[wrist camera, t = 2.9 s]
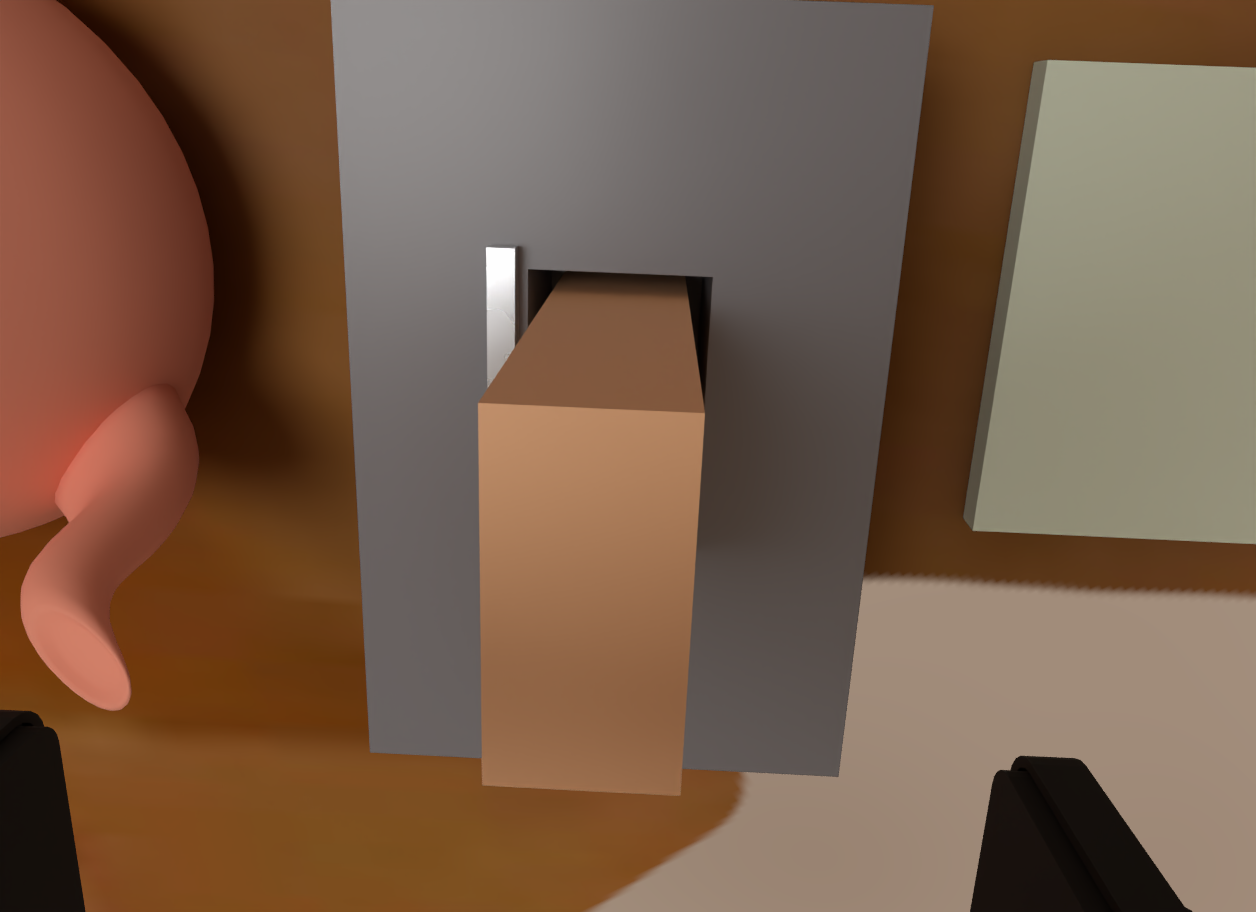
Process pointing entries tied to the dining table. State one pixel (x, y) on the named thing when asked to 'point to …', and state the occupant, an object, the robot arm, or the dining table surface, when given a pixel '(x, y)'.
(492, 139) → the dispenser
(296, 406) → the dining table surface
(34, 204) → the teapot
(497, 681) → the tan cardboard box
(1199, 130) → the mat
